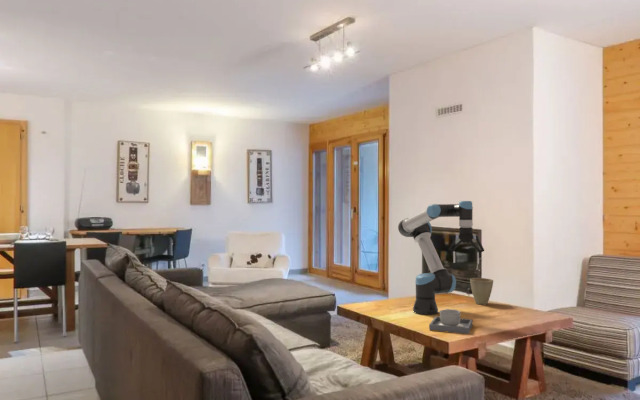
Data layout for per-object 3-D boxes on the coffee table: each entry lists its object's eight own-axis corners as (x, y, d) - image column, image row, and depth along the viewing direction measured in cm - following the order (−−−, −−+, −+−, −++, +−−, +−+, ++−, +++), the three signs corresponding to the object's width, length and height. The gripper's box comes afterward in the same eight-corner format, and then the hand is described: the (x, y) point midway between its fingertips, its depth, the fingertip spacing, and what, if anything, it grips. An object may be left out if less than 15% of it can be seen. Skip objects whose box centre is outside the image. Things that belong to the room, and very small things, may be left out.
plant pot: (480, 306, 321) (480, 281, 321) (465, 302, 334) (465, 278, 334) (498, 304, 327) (498, 280, 327) (482, 300, 340) (482, 277, 340)
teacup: (460, 329, 259) (460, 313, 259) (439, 327, 262) (439, 312, 262) (460, 322, 273) (459, 308, 273) (439, 321, 275) (439, 307, 276)
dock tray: (429, 330, 262) (429, 324, 262) (435, 321, 280) (435, 316, 280) (468, 333, 254) (468, 327, 254) (472, 324, 272) (472, 319, 272)
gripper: (488, 227, 290) (489, 263, 290) (445, 226, 300) (445, 261, 299) (487, 227, 283) (488, 264, 283) (443, 227, 293) (443, 263, 292)
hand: (466, 263), depth 291 cm, fingers open, 13 cm apart
